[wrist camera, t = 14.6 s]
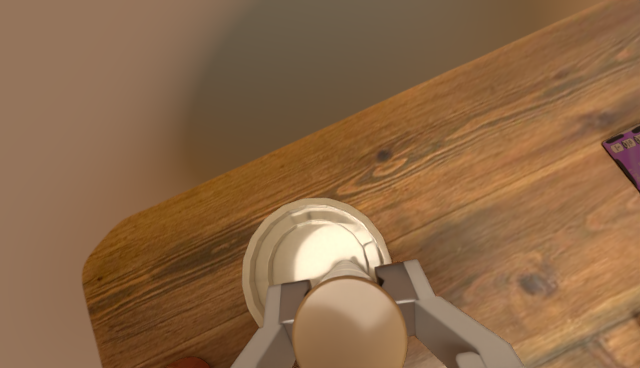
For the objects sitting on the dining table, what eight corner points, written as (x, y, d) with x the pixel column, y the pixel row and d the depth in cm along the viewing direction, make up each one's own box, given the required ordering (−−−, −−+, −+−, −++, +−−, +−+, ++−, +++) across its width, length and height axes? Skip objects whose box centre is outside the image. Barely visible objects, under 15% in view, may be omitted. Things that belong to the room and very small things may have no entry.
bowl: (252, 339, 34) (237, 353, 29) (258, 206, 38) (246, 199, 33) (389, 342, 33) (397, 357, 28) (382, 204, 36) (387, 196, 32)
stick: (335, 283, 31) (289, 401, 6) (334, 259, 32) (292, 275, 6) (358, 283, 31) (412, 405, 6) (357, 259, 31) (404, 275, 6)
